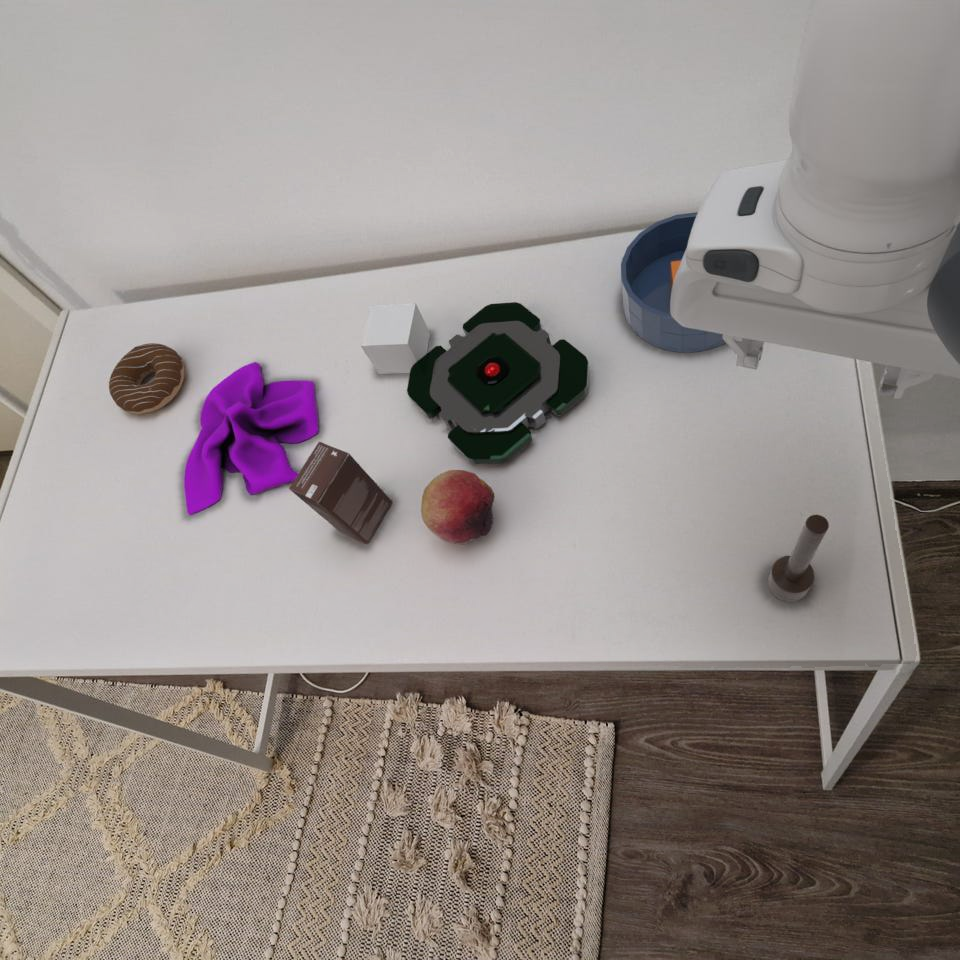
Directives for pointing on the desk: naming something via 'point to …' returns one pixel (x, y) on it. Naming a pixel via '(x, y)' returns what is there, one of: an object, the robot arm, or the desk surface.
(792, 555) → the stirrer
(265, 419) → the cloth
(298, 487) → the box
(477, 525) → the fruit
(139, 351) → the donut
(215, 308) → the desk surface
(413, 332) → the white cube
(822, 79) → the robot arm
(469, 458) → the flat green button pad
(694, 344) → the bowl
